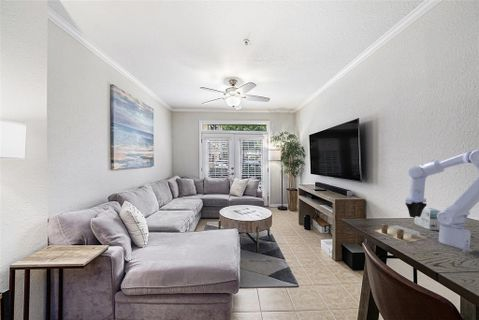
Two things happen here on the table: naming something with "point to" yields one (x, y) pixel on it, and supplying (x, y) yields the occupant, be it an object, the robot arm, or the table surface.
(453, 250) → the table surface
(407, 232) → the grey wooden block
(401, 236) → the board
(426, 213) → the light bulb box
